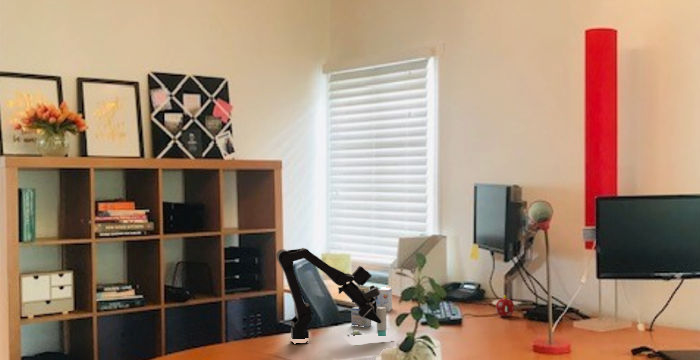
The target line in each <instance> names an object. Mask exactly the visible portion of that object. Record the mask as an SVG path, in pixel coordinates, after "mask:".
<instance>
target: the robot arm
mask: <svg viewBox="0 0 700 360" xmlns="http://www.w3.org/2000/svg"><path fill="white" fill-rule="evenodd" d="M275 258H276V261H277V262H278V264H279V266H280V268H281V269H282V271H283V273H284V277H285V279H286V283H287V284H288V285H287V286H288V287H289V292H290V296H291V298H292V301H293V306H294V308H293V309H294V315H295V316H294V317H293V318H292V319H291V320H290V321H289V322H290V324H291V327H290V334H291V335H290V336H291V337H290V339H291V338H292V339H305V338H309V339H310V337H309V335H310V333H309V329H308V326H309V324H310V323H311V322H312V320H313V316H314V314H313V313H312V309H311V305H310V304H309V303H308V302H306V303H305V302H304V299H303V295H302V292H301V290H300V286H299V283H298V280H297V277H296V274H295V270H294V262H296V261H299V260H305V261H307V262H309V263H310V264H312V265H313V266H314V267H315V268H317V269H318V270H320V271H322V272H323V273H324V274H325V275H326V276H327V277H328V278H329V280H331V282H333V284H335V285H337V286H340V287H338V288H337V289H338V294H339V295H341V294H342V292H343V293H344V294H345V296H347V297H348V298H349V299H350V300H351V303H352V304H355V305H356V307H359V309H360V310H359V315H360V316H361V317H363V318H366V319H369V320H371V322H375V323H376V324H377V323H379V324H380V323H381V322H382V321H381V320H380V319H379V317H378V316H377V311H376V308H378V307H377V300H376V298H375V296H378V295H380V291H379V288H378V287H379V286H375V285H370V286H369V288H370V290H367V291H365V290H364V289H361V288H360V287H359V286H361V287H363V286H364V285H365V284H366V283H368V281H369V280H371V278H372V275H371V273H370V272H369V271H368V270H366V269H365V268H364V267H363V266H362V265H359V266H358V267H356V269H355V271H354V272H352V274H350V273H345V272H344V271H342V270H340V269H337V268H336V267H333V266H331V265H329V264H328V263H326V262H325V261H323V259H321V258H319V257H318V256H316V255H315V254H314V253H312V252H311V251H310V250H309V249H308V248H306V247H301V248H296V249H295V248H294V249H283V248H282V249H278V251H277V252H276V255H275ZM375 300H376V301H375ZM373 301H375V302H373Z"/></svg>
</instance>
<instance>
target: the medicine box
mask: <svg viewBox="0 0 700 360" xmlns="http://www.w3.org/2000/svg"><path fill="white" fill-rule="evenodd" d="M359 310H360V309H359V307H358V306H354V307H352V308H351V311H350V312H351V313H350V314H351V326H352V325H358V326H364V327H363V328H365V327H367V328H369V327H368V326H370V327H371V326H372V320H369V319H366V318H363V317H361V316H360V315H359Z"/></svg>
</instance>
